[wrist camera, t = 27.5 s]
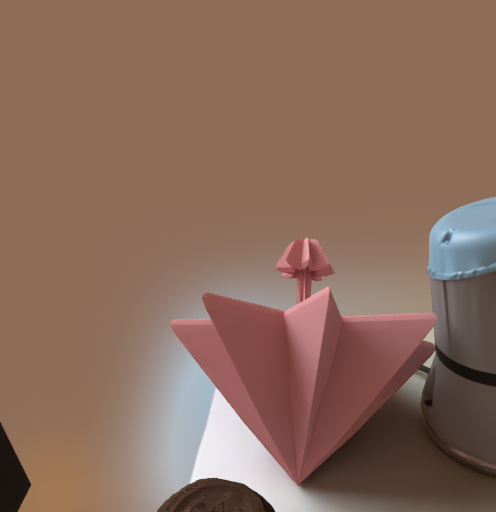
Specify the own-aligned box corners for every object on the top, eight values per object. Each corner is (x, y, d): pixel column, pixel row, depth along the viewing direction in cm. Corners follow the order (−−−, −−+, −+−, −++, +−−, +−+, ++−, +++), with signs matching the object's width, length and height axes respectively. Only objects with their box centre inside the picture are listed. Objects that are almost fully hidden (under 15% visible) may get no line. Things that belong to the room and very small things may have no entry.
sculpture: (174, 473, 47) (118, 306, 40) (234, 362, 65) (202, 233, 58) (454, 505, 37) (442, 291, 30) (433, 364, 55) (423, 210, 48)
